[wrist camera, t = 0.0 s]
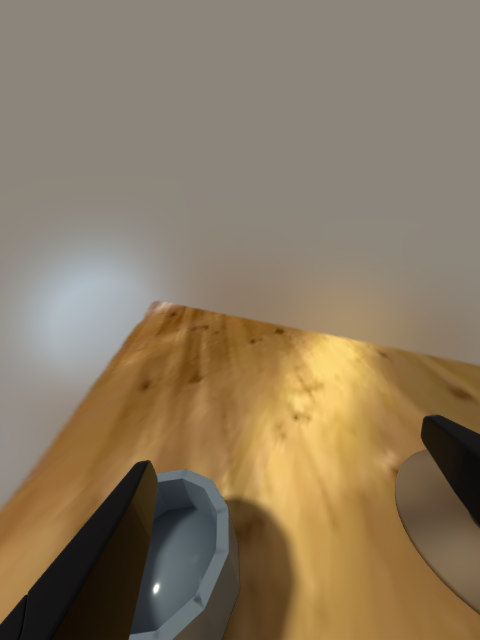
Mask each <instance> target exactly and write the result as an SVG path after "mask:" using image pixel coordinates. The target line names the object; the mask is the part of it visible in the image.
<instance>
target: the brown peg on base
mask: <svg viewBox="0 0 480 640" xmlns="http://www.w3.org/2000/svg"><path fill="white" fill-rule="evenodd" d="M395 499H396V506H397V510H398V513H399V517H400V519H401V522H402V524H403V527H404V529H405V531H406V533H407V535H408V536H409V538H410V540H411V542H412V543H413V545H414V546H415V548H416V550H417V551H418V553H419V554H420V555H421V557H422V558H423V559H424V561H425V562H426V563H427V565H428V566H429V567H430V568H431V569H432V571H433V572H434V573H435V574H436V575H437V576H438V577H439V578H440V580H441V581H442V582H443V583H444V584H445V585H446V586H447V587H448V588H449V589H450V590H452V591H453V592H454V593H455V594H456V595H457V596H458V597H459V598H460V599H461V600H463V601H464V602H465V603H466V604H467V605H468V606H470V607H471V608H472V609H473V610H474V611H476V612H477V613H479V614H480V526H479V525H478V523H477V522H476V521H475V519H474V518H473V517H472V515H471V514H470V513H469V511H468V510H467V509H466V507H465V506H464V505H463V503H462V502H461V501H460V499H459V498H458V496H457V495H456V494H455V492H454V491H453V489H452V488H451V486H450V485H449V483H448V482H447V480H446V478H445V477H444V475H443V474H442V472H441V470H440V469H439V467H438V466H437V464H436V463H435V461H434V459H433V458H432V456H431V455H430V453H429V451H428V450H427V449H426V450H422V451H420V452H417V453H415V454H413V455H412V456H410V457H409V458H408V459H407V460H405V461H404V463H403V464H402V466H401V467H400V469H399V471H398V474H397V478H396V485H395Z"/></svg>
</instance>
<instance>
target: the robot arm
mask: <svg viewBox="0 0 480 640" xmlns="http://www.w3.org/2000/svg"><path fill="white" fill-rule="evenodd" d="M421 439H422V441H423V443H424V445H425V447H426V448H427V450H428V451H429V453H430V455H431V456H432V458H433V459H434V461H435V463H436V464H437V466H438V467H439V469H440V470H441V472H442V474H443V475H444V477H445V478H446V480H447V482H448V483H449V485H450V486H451V488H452V489H453V491H454V492H455V494H456V495H457V496H458V498H459V499H460V501H461V502H462V503H463V505H464V506H465V507H466V509H467V510H468V511H469V513H470V514H471V515H472V517H473V518H474V519H475V521H476V522H477V523H478V525H479V526H480V434H478V433H476V432H474V431H472V430H470V429H468V428H466V427H464V426H462V425H460V424H457V423H455V422H453V421H451V420H449V419H447V418H445V417H443V416H441V415H429V416H425V417H424V418H423V423H422V429H421ZM157 486H158V479H157V475H156V473H155V470H154V468H153V465H152V463H151V461H149V460H146V461H140V462H137V463H136V464H135V465H134V466H133V467H132V468H131V470H130V471H129V472H128V473H127V474H126V476H125V477H124V478H123V479H122V480H121V482H120V483H119V484H118V485H117V486H116V488H115V489H114V490H113V491H112V492H111V493H110V495H109V496H108V497H107V498H106V499H105V501H104V502H103V503H102V504H101V505H100V507H99V508H98V509H97V510H96V511H95V513H94V514H93V515H92V516H91V517H90V518H89V520H88V521H87V522H86V523H85V524H84V526H83V527H82V528H81V529H80V530H79V532H78V533H77V534H76V535H75V536H74V538H73V539H72V540H71V541H70V542H69V543H68V545H67V546H66V547H65V548H64V549H63V551H62V552H61V553H60V554H59V555H58V557H57V558H56V559H55V560H54V561H53V563H52V564H51V565H50V566H49V567H48V568H47V570H46V571H45V572H44V573H43V574H42V576H41V577H40V578H39V579H38V580H37V582H36V583H35V584H34V585H33V586H32V588H31V589H30V590H29V591H28V595H25V596H24V597H23V598H22V599H21V600H20V602H19V603H18V604H17V605H16V606H15V608H14V609H13V610H12V611H11V612H10V614H9V615H8V616H7V617H6V618H5V619H4V621H3V622H2V623H1V624H0V640H129V637H130V632H131V628H132V623H133V618H134V614H135V609H136V605H137V600H138V596H139V591H140V586H141V582H142V577H143V573H144V568H145V564H146V559H147V555H148V550H149V545H150V540H151V533H152V526H153V518H154V510H155V502H156V494H157Z"/></svg>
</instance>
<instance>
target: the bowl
mask: <svg viewBox="0 0 480 640" xmlns="http://www.w3.org/2000/svg"><path fill="white" fill-rule="evenodd" d="M156 475H157V479H158V486H157V494H156V502H155V510H154V518H153V526H152V533H151V540H150V545H149V550H148V555H147V559H146V564H145V568H144V573H143V577H142V582H141V586H140V591H139V596H138V600H137V605H136V609H135V614H134V618H133V623H132V628H131V632H130V637H129V640H222V638H223V635H224V632H225V629H226V627H227V624H228V621H229V618H230V615H231V613H232V610H233V607H234V604H235V602H236V599H237V596H238V593H239V590H240V582H239V554H238V541H237V537H236V534H235V530H234V526H233V523H232V519H231V515H230V512H229V508H228V506H227V504H226V503H225V501H224V499H223V498H222V496H221V494H220V493H219V491H218V489H217V488H216V486H215V484H214V483H213V481H212V480H211V479H209V478H206V477H204V476H202V475H199V474H197V473H194V472H192V471H190V470H187V469H184V470H177V471H171V472H165V473H159V474H156Z"/></svg>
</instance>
